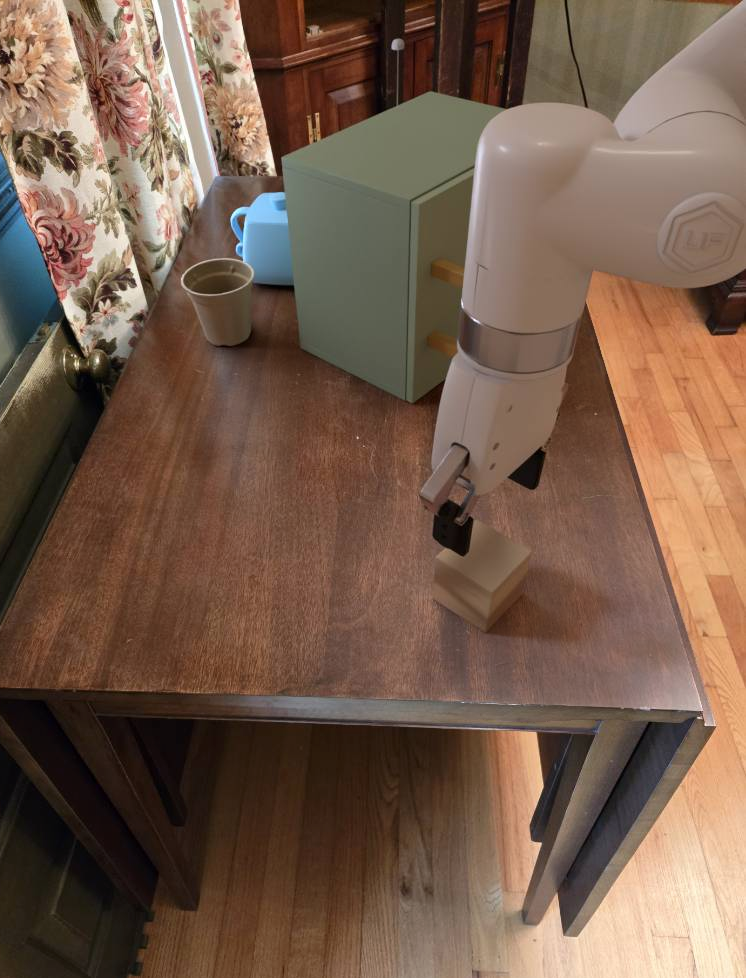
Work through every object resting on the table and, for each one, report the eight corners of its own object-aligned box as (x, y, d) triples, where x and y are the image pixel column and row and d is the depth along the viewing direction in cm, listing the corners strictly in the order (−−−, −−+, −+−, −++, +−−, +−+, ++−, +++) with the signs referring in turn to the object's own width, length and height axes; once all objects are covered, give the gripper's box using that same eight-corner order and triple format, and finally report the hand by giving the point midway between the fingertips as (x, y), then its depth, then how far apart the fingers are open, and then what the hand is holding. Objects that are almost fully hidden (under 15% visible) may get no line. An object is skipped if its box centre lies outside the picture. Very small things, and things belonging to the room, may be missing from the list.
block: (522, 593, 68) (532, 551, 63) (485, 633, 65) (492, 592, 60) (470, 561, 70) (476, 518, 66) (432, 598, 68) (435, 556, 63)
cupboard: (525, 311, 100) (555, 120, 82) (405, 401, 88) (410, 199, 70) (422, 271, 109) (430, 90, 91) (300, 348, 96) (281, 157, 79)
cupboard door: (568, 327, 97) (609, 134, 79) (449, 422, 84) (465, 220, 67) (527, 311, 100) (557, 122, 82) (406, 400, 88) (411, 201, 70)
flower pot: (239, 361, 95) (228, 301, 89) (180, 345, 98) (166, 286, 92) (275, 324, 101) (267, 265, 94) (218, 311, 104) (207, 253, 97)
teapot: (347, 296, 105) (343, 217, 96) (227, 290, 108) (214, 212, 99) (360, 255, 113) (358, 178, 104) (249, 250, 116) (238, 175, 107)
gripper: (541, 259, 53) (508, 440, 65) (385, 365, 44) (382, 549, 57) (636, 293, 49) (582, 478, 62) (487, 416, 41) (459, 600, 54)
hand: (486, 512), depth 59 cm, fingers open, 9 cm apart
